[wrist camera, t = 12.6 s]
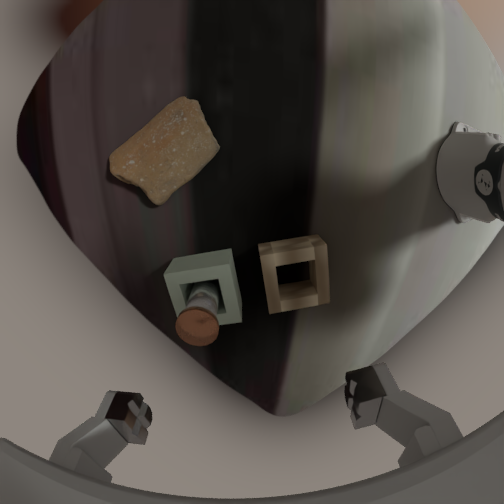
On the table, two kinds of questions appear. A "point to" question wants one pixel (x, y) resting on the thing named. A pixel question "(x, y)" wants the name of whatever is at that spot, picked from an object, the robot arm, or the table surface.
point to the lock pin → (200, 314)
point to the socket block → (204, 269)
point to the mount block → (301, 291)
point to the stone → (166, 151)
